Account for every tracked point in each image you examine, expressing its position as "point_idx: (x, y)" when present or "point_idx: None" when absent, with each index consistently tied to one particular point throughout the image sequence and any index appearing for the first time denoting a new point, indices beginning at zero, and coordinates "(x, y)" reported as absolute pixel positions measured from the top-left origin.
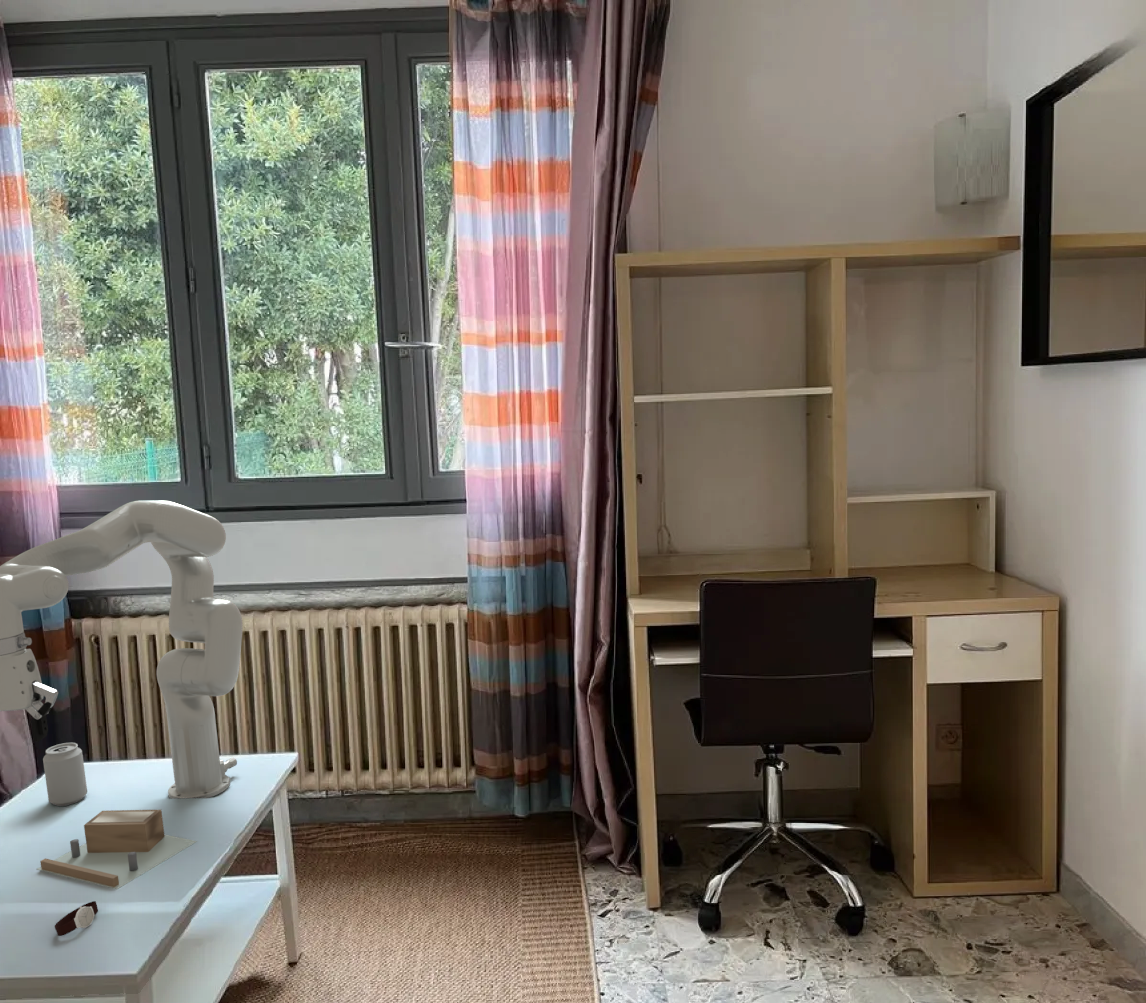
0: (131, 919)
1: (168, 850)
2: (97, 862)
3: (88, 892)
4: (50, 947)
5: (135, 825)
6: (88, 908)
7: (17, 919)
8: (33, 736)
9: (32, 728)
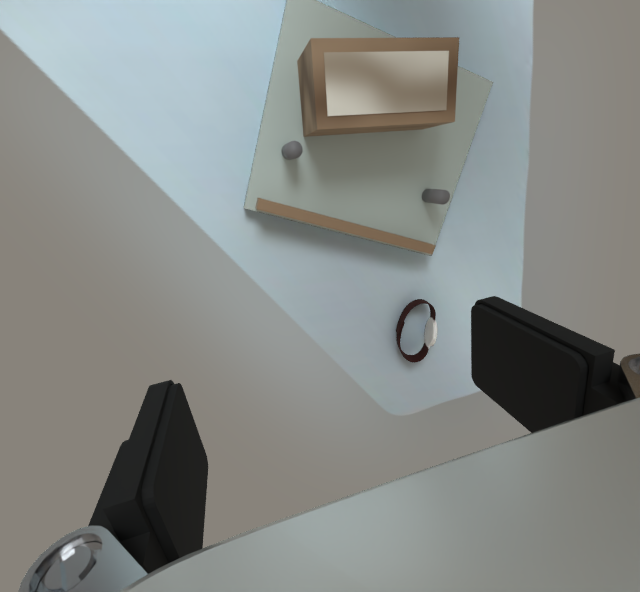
0: (472, 303)
1: (456, 122)
2: (349, 175)
3: (375, 250)
4: (406, 370)
5: (434, 123)
6: (436, 328)
7: (316, 328)
8: (491, 397)
9: (525, 424)
